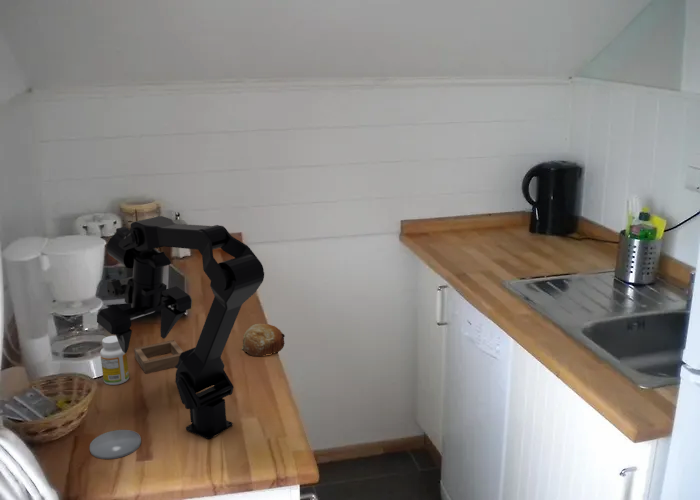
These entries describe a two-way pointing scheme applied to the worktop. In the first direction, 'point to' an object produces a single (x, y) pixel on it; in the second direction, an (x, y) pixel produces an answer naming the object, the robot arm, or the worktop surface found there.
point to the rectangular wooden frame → (158, 349)
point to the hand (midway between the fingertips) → (144, 344)
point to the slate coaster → (115, 444)
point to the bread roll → (263, 340)
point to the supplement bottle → (113, 362)
